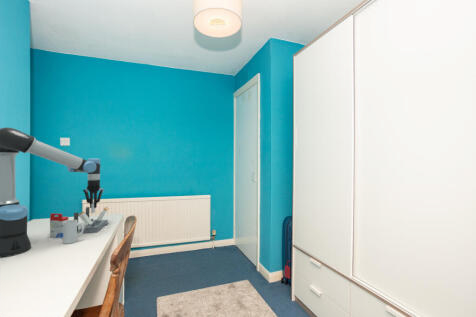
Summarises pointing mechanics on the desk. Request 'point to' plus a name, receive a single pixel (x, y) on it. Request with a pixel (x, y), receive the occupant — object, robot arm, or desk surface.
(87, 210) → the cable post right
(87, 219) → the paddle
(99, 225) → the breaker panel
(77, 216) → the cable post left
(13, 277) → the desk surface
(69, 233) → the mug
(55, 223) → the ink box
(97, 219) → the paddle
